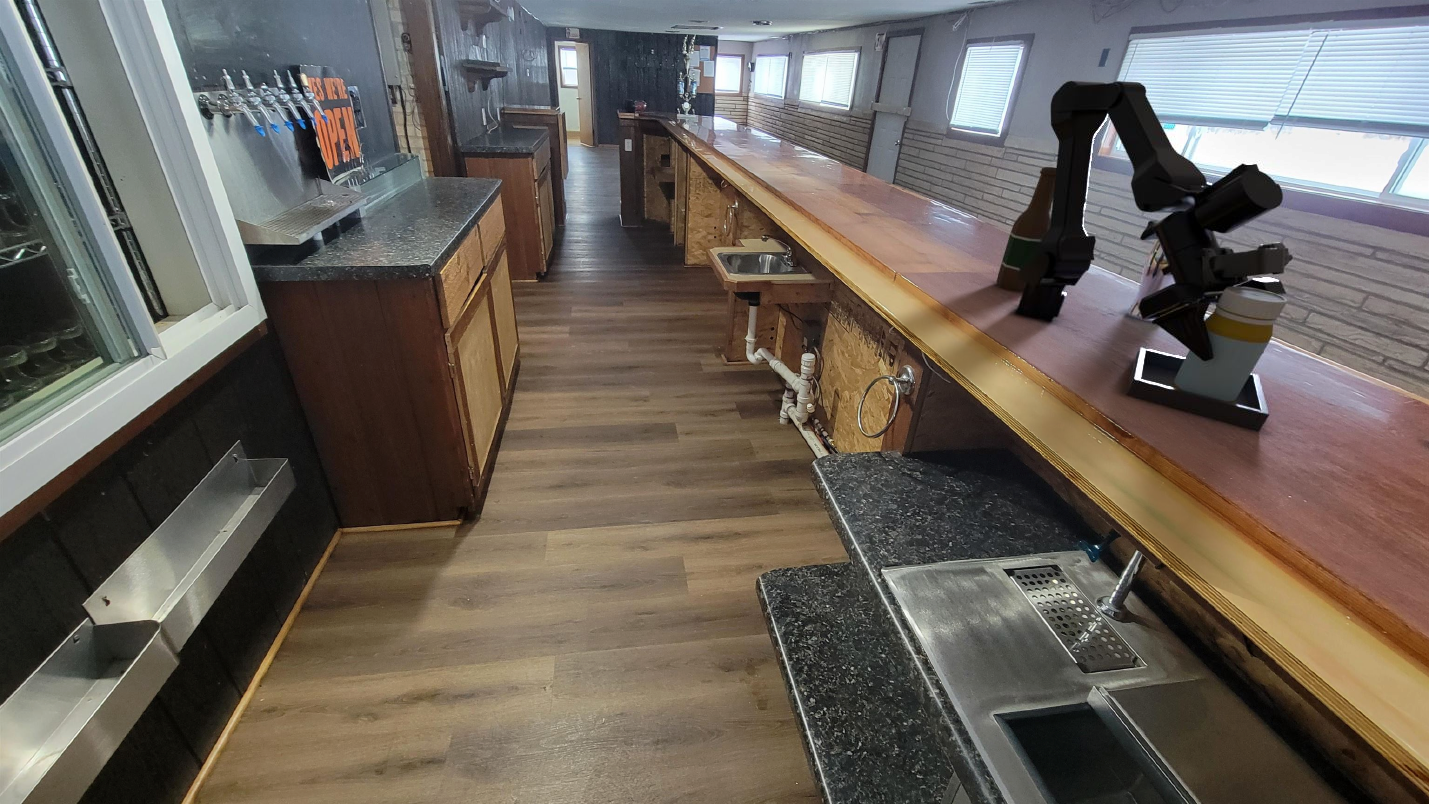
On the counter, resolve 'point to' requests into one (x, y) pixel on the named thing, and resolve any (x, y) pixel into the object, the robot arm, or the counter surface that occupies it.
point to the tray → (1155, 385)
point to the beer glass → (1151, 279)
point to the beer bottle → (1028, 232)
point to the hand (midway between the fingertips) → (1234, 357)
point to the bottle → (1232, 343)
